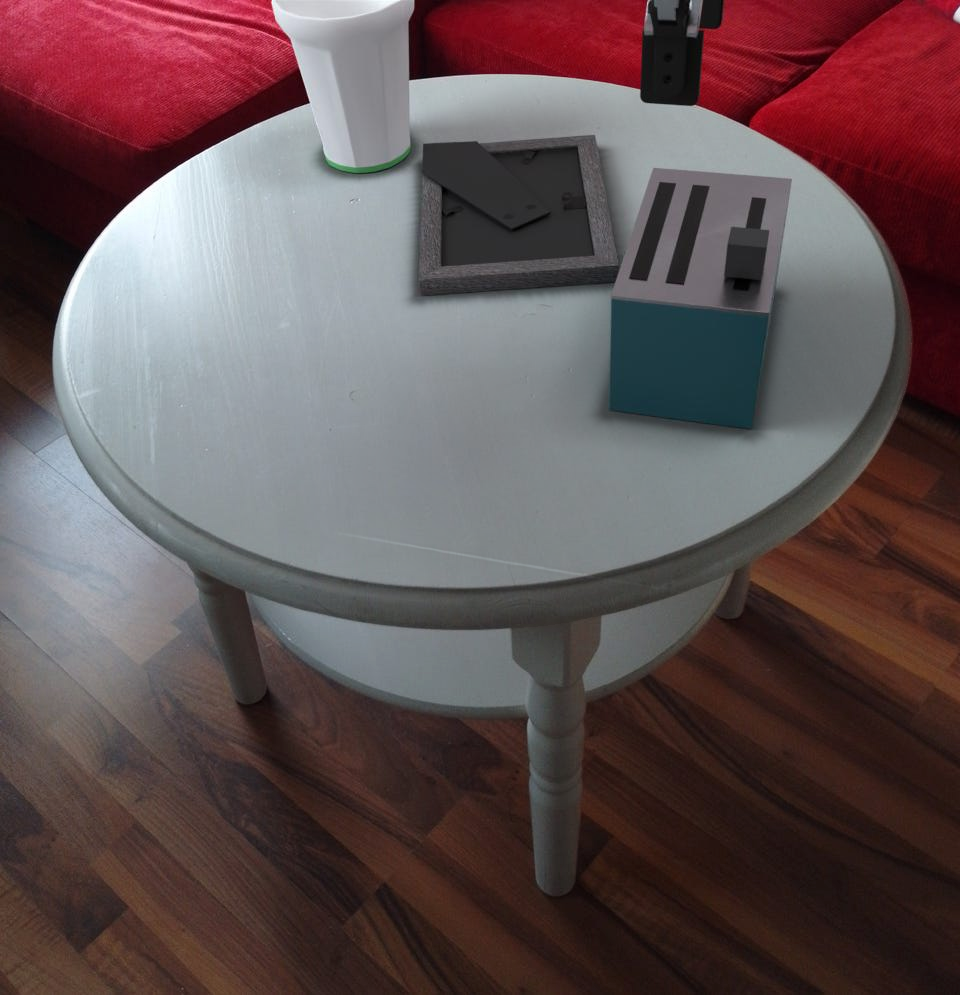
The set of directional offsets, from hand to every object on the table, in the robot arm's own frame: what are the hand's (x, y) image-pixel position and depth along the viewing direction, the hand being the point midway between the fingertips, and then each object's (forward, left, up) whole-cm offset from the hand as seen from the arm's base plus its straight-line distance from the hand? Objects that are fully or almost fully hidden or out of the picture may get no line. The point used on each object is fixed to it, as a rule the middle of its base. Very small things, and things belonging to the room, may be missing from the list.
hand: (682, 62), depth 64 cm
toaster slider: (-5, +2, -13) cm, 14 cm away
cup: (+33, -26, -23) cm, 48 cm away
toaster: (-2, -2, -23) cm, 23 cm away
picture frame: (+16, -17, -23) cm, 33 cm away
